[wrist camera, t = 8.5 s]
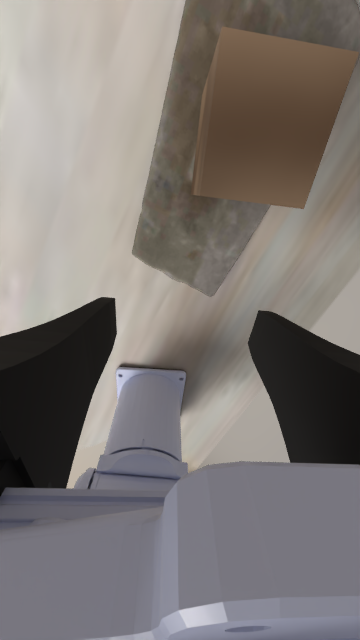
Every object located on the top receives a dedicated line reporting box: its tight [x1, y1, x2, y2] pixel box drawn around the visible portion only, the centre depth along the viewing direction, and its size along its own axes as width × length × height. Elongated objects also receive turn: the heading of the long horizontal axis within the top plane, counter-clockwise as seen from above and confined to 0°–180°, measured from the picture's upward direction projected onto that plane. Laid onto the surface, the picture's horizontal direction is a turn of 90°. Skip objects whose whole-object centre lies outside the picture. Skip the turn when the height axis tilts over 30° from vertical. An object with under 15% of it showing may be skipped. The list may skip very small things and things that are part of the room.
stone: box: [132, 0, 360, 297], centre depth 15 cm, size 18×3×10 cm
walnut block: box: [191, 26, 359, 209], centre depth 11 cm, size 5×5×6 cm
